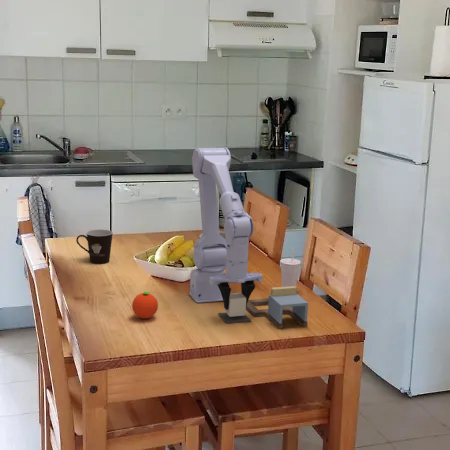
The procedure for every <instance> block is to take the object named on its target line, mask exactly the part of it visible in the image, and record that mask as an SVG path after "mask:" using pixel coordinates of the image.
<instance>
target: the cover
mask: <svg viewBox="0 0 450 450" xmlns="http://www.w3.org/2000/svg"><path fill="white" fill-rule="evenodd" d="M297 289H298V288H297V286H296V287H295V286H289V287H282V286H278V287H271V289H270V294H269V295H268V298H269V304H268V305H267V307H268V308H267V309H268V313H269V314H270V315H271V316H272V317H273V318H274V319H275V320H276V321H277V322H278V323H279V324H280V323H282V324H283V314H282V312H283V308H285V307H293V308H292V311H293V312H294V313H296V314H297V315H298V316H299V317H300V318H301V319H302V320H304V321H307V322H308V310H309V302H308V301H307V300H306V299H305V298H303V297H302V296H301V295H299V294H298V293H297Z"/></svg>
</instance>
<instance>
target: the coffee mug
mask: <svg viewBox="0 0 450 450" xmlns="http://www.w3.org/2000/svg"><path fill="white" fill-rule="evenodd" d="M113 233H114V232H113V231H111V230H109V229H91V230H88V231H86V235H84V234H79V235H78V236H77V237H76V241H75V242H76V244H77V245H78V246H79V247H80V248H81V249H83V250H84V251H85V252H86V253H87V254H89V255H88V256H89V262H90V263H91V264H92V265H93V264H94V265H104V264H108V263H110V259H111V252H112V251H111V249H112V242H113ZM81 237H82V238H85V239H86V242H87V247H88V249H87V248H86V247H84V246H83V245H82V244H81V243H80V242H79V238H81Z"/></svg>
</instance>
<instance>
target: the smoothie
mask: <svg viewBox="0 0 450 450" xmlns="http://www.w3.org/2000/svg"><path fill="white" fill-rule="evenodd" d="M291 249H292V250H291V258H282V259H280V260H279V265H280V272H281V273H280V274H281V287H289V286H295V287H296V288H297V281H298V276H299V272H300V267H301V265H302V261H301V260H299V259H296V258H295V257H294V256H295V247H292V248H291Z"/></svg>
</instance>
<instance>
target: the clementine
mask: <svg viewBox="0 0 450 450" xmlns="http://www.w3.org/2000/svg"><path fill="white" fill-rule="evenodd" d="M131 307H132V312H133V313H134V314H135V315H136V316H137V317H138V318H139V319H150V318H152V317H154V316H155V314H156V313H157V312H158V309H159V302H158V299H157V298H156V296H154V295H153V294H151V293H150V292H149V291H144V292H141V293H139V294H138V295H136V296H134V299H133V301H132V305H131Z"/></svg>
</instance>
